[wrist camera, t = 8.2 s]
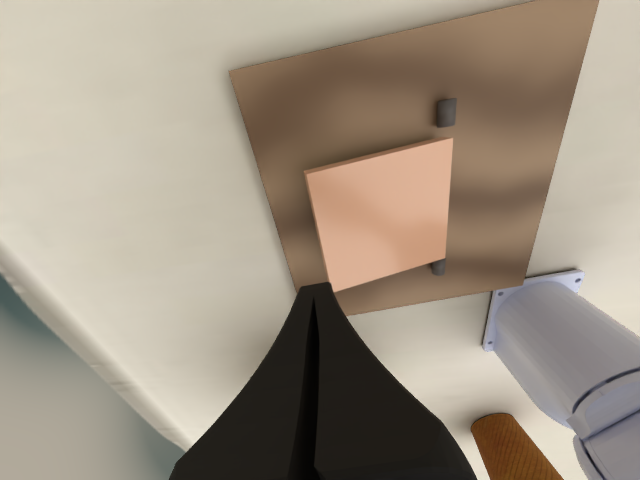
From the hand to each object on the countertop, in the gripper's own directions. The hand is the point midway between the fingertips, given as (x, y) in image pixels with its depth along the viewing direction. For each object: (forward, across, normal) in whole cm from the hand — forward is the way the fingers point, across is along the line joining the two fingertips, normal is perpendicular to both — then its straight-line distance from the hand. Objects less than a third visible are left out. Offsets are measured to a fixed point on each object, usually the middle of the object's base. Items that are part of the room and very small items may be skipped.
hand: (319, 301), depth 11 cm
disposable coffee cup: (+10, -19, +38) cm, 44 cm away
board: (+9, -7, 0) cm, 12 cm away
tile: (+8, -9, 0) cm, 12 cm away
